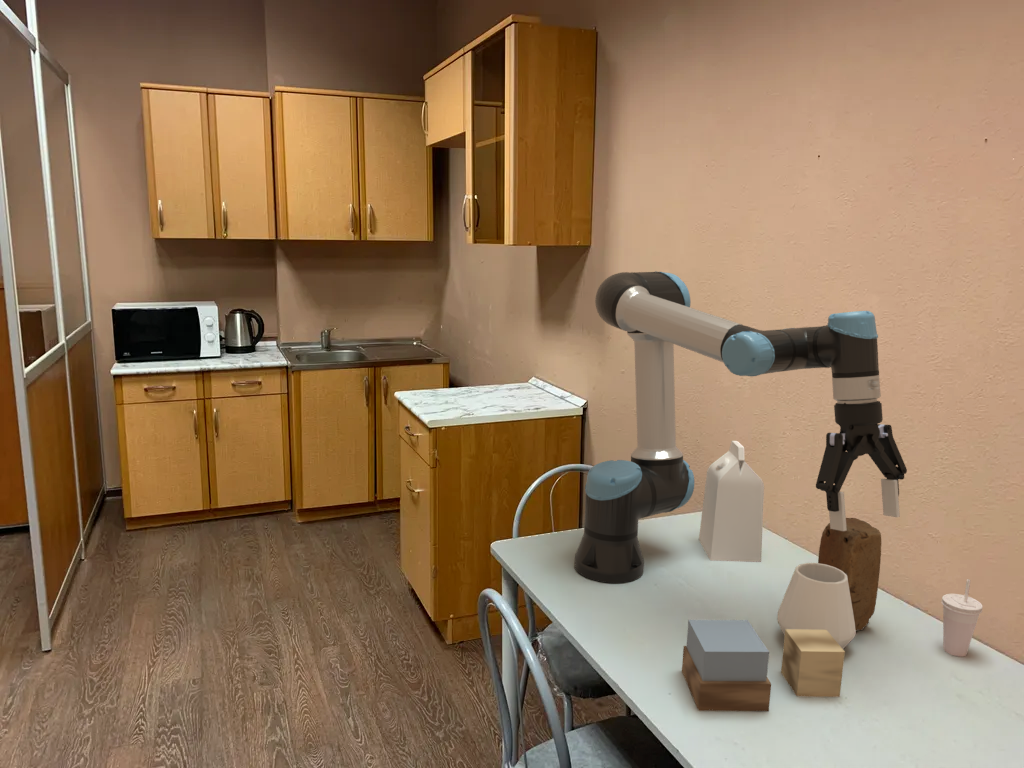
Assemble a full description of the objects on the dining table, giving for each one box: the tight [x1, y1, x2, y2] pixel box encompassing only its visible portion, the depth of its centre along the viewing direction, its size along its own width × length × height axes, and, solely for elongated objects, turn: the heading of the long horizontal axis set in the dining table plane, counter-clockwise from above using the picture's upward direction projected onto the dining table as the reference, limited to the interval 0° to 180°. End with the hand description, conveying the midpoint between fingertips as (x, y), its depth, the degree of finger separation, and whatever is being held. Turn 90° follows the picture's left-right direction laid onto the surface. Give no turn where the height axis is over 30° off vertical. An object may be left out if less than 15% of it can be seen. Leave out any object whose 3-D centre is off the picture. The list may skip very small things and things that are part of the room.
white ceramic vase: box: [776, 562, 857, 650], centre depth 140 cm, size 13×13×14 cm
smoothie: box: [940, 578, 984, 658], centre depth 139 cm, size 6×6×14 cm
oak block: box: [780, 629, 846, 698], centre depth 128 cm, size 7×7×8 cm
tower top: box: [685, 619, 770, 681], centre depth 125 cm, size 10×10×5 cm
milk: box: [698, 440, 765, 563], centre depth 180 cm, size 12×12×26 cm
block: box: [817, 517, 882, 632], centre depth 148 cm, size 11×8×20 cm
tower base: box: [681, 645, 772, 712], centre depth 125 cm, size 11×11×5 cm
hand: (865, 522), depth 134 cm, fingers open, 13 cm apart
